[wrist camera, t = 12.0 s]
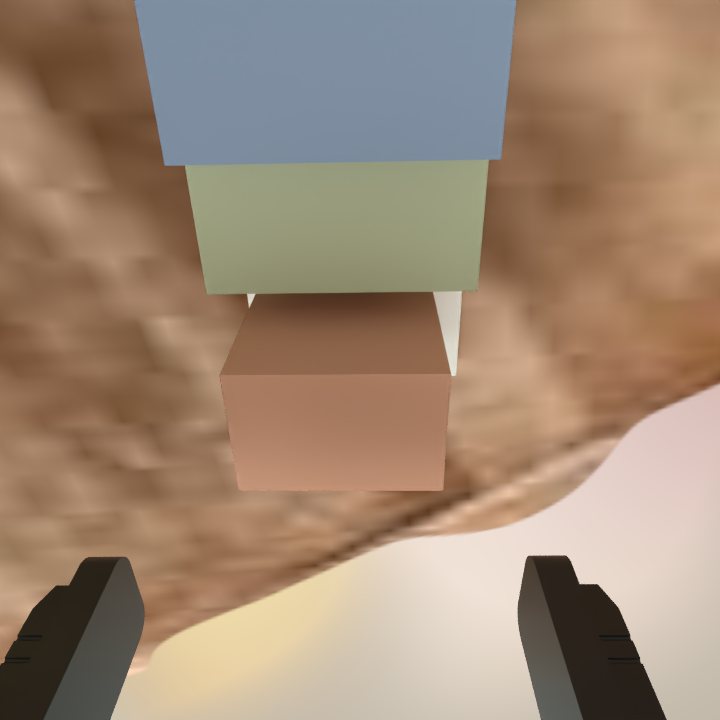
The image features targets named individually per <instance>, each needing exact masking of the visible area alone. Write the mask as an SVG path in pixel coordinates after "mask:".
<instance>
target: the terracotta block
mask: <svg viewBox="0 0 720 720" xmlns="http://www.w3.org/2000/svg"><path fill="white" fill-rule="evenodd" d="M220 381H221V387H222V393H223V399H224V405H225V411H226V417H227V423H228V429H229V435H230V441H231V447H232V453H233V459H234V465H235V471H236V477H237V483H238V489H239V490H277V491H443V481H444V467H445V453H446V439H447V425H448V411H449V397H450V383H451V371H450V367H449V362H448V357H447V353H446V348H445V344H444V339H443V335H442V330H441V326H440V321H439V317H438V312H437V308H436V303H435V299H434V294H433V292H361V293H278V294H255V296H254V299H253V301H252V303H251V305H250V308H249V310H248V312H247V314H246V317H245V319H244V321H243V323H242V326H241V328H240V330H239V332H238V335H237V337H236V339H235V341H234V344H233V346H232V348H231V350H230V353H229V355H228V357H227V359H226V362H225V364H224V366H223V368H222V371H221V373H220Z"/></svg>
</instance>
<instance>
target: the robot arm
mask: <svg viewBox="0 0 720 720" xmlns="http://www.w3.org/2000/svg"><path fill="white" fill-rule="evenodd" d="M143 625H144V604H143V601H142V598H141V595H140V592H139V589H138V586H137V582H136V579H135V576H134V573H133V570H132V567H131V564H130V562H129V560H128V558H126V557H88V558H86V559H85V560H83V562H82V563H81V564H80V566H79V568H78V570H77V571H76V573H75V575H74V577H73V579H72V581H71V583H70V585H69V586H55V587H54V588H53V589H52V590H51V591H50V592H49V593H48V594H47V595H46V596H45V597H44V598H43V599H42V600H41V601H40V602H39V603H38V604H37V605H36V606H35V607H34V608H33V609H32V611H31V613H30V614H29V616H28V618H27V620H26V621H25V623H24V625H23V627H22V628H21V630H20V632H19V634H18V635H17V636H18V638H17V640H16V641H14V642H13V644H12V646H11V648H10V649H9V651H8V653H7V655H6V656H5V662H4V663H1V665H0V720H110V719H111V716H112V713H113V711H114V708H115V705H116V702H117V700H118V697H119V694H120V692H121V688H122V686H123V683H124V681H125V678H126V675H127V673H128V670H129V667H130V665H131V662H132V659H133V657H134V654H135V651H136V648H137V646H138V643H139V640H140V637H141V634H142V630H143ZM518 625H519V631H520V636H521V641H522V645H523V649H524V653H525V657H526V661H527V665H528V669H529V673H530V677H531V681H532V685H533V689H534V693H535V697H536V701H537V705H538V709H539V713H540V717H541V720H667V719H666V717H665V715H664V712H663V710H662V708H661V705H660V703H659V701H658V699H657V696H656V694H655V692H654V689H653V687H652V685H651V682H650V680H649V678H648V675H647V673H646V671H645V668H644V666H643V664H641V662H640V657H639V654H638V652H637V650H636V647H635V645H634V643H633V641H631V639H630V633H629V631H628V629H627V626H626V624H625V622H624V619H623V617H622V615H621V612H620V610H619V608H618V607H617V606H616V604H615V603H614V602H613V601H612V600H611V599H610V598H609V597H608V595H607V594H606V593H605V592H604V591H603V590H602V589H601V588H600V587H599V585H597V584H579V582H578V579H577V577H576V574H575V571H574V568H573V566H572V564H571V561H570V559H569V558H568V557H567V556H528V557H527V559H526V563H525V568H524V573H523V579H522V585H521V590H520V596H519V601H518Z"/></svg>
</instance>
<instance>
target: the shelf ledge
mask: <svg viewBox="0 0 720 720" xmlns="http://www.w3.org/2000/svg"><path fill="white" fill-rule="evenodd" d="M134 3H135V8H136V14H137V19H138V25H139V30H140V35H141V41H142V46H143V51H144V57H145V62H146V67H147V73H148V78H149V83H150V89H151V94H152V100H153V105H154V110H155V116H156V121H157V126H158V132H159V137H160V142H161V148H162V153H163V158H164V164H165V166H180V165H185V169H186V175H187V181H188V187H189V193H190V199H191V204H192V210H193V216H194V222H195V228H196V234H197V240H198V246H199V252H200V257H201V263H202V269H203V275H204V281H205V287H206V293H207V294H247V296H248V304H249V308H250V305H251V303H252V301H253V299H254V296H255V294H278V293H361V292H433V294H434V299H435V303H436V308H437V312H438V317H439V321H440V326H441V330H442V335H443V339H444V344H445V348H446V353H447V357H448V362H449V367H450V371H451V376H456V369H457V355H458V342H459V328H460V314H461V300H462V291H477V290H478V279H479V267H480V256H481V244H482V233H483V221H484V210H485V198H486V187H487V175H488V164H489V160H499V159H501V154H502V144H503V133H504V123H505V113H506V102H507V92H508V82H509V71H510V61H511V51H512V41H513V30H514V20H515V10H516V0H134Z"/></svg>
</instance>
